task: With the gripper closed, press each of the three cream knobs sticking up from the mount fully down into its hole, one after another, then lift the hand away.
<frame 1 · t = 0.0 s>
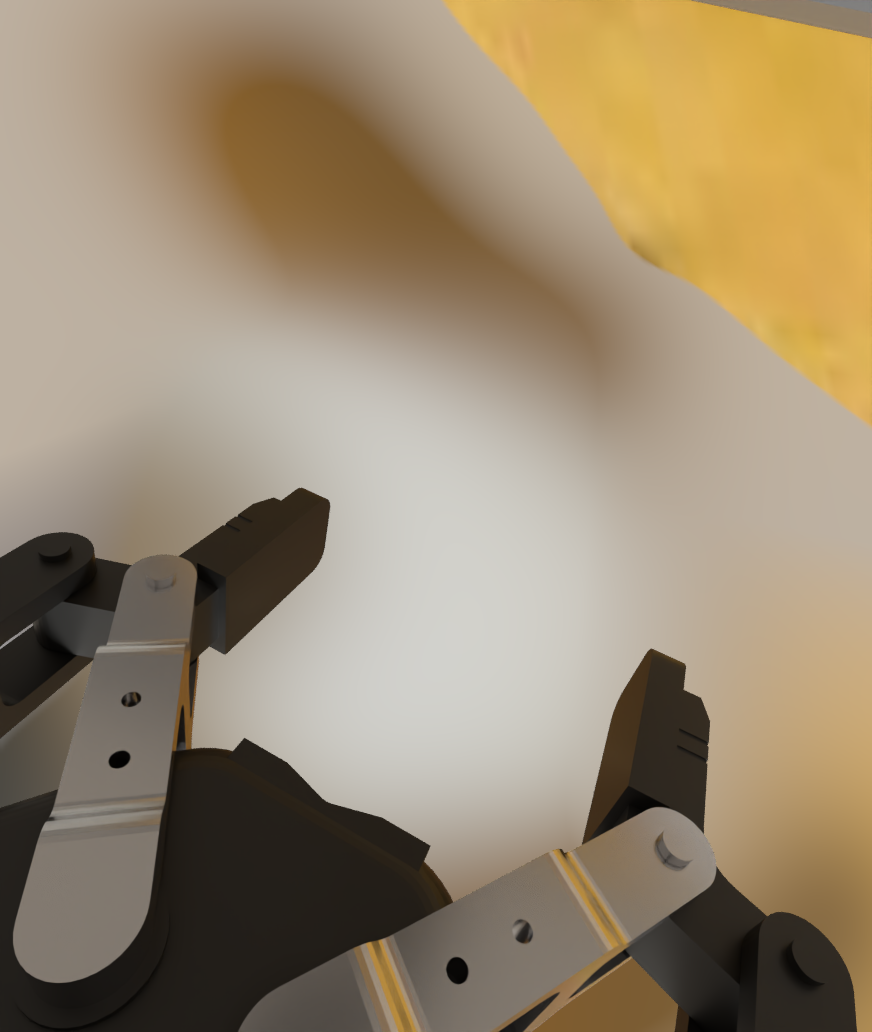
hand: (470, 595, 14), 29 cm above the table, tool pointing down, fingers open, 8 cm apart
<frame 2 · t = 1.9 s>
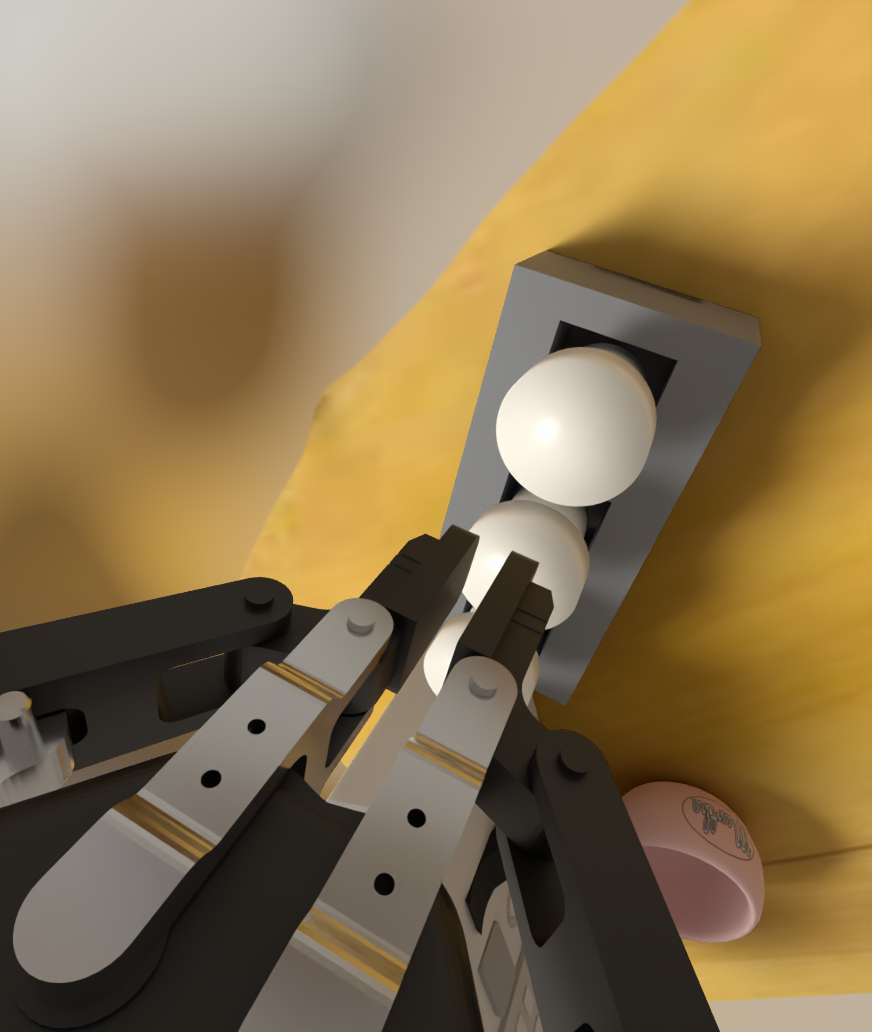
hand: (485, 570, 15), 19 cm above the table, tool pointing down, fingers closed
mug: (668, 804, 43), on the table
mount: (567, 481, 34), on the table
rounded white slab: (522, 766, 47), on the table
knob a: (586, 410, 24), point 7 cm above the table, slide at 2.5 cm
knob b: (533, 543, 28), point 7 cm above the table, slide at 2.5 cm
knob c: (494, 643, 32), point 7 cm above the table, slide at 2.5 cm
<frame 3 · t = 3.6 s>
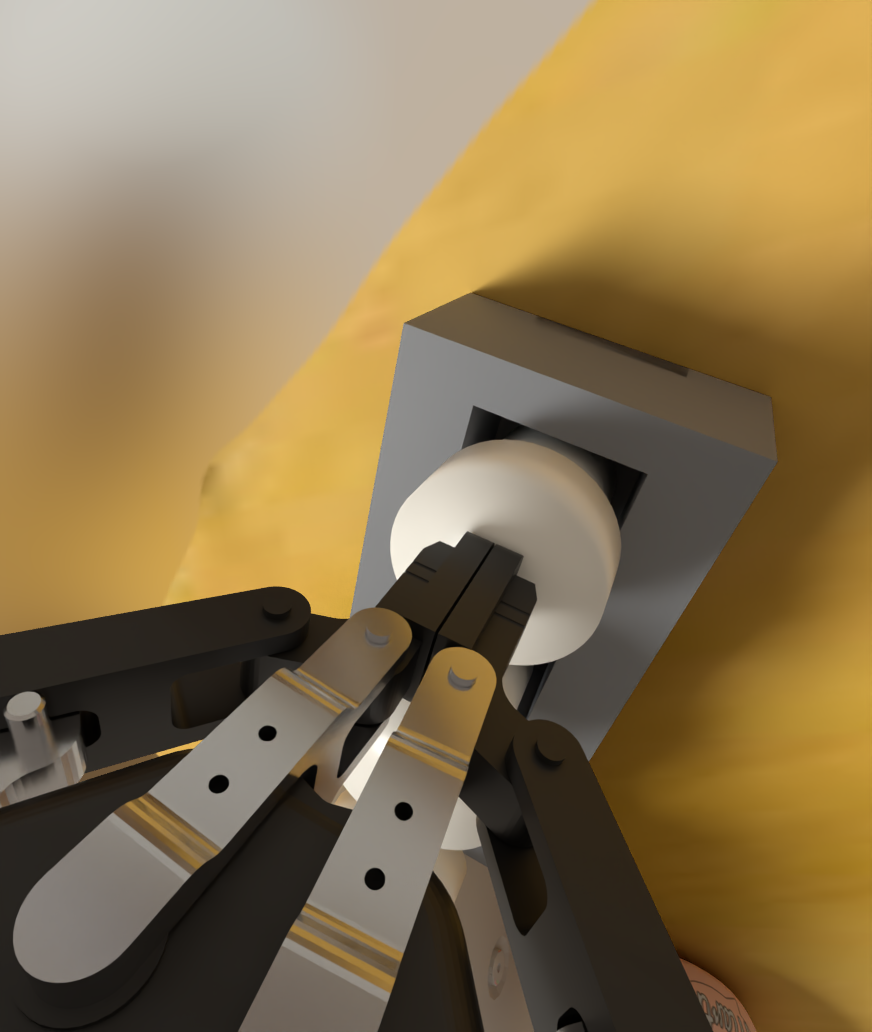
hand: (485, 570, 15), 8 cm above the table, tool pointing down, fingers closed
mug: (653, 968, 34), on the table
mount: (514, 591, 25), on the table
rounded white slab: (476, 902, 39), on the table
knob a: (525, 519, 17), point 5 cm above the table, slide at 0.9 cm, touching gripper
knob b: (449, 709, 20), point 7 cm above the table, slide at 2.5 cm
knob c: (410, 816, 24), point 7 cm above the table, slide at 2.5 cm
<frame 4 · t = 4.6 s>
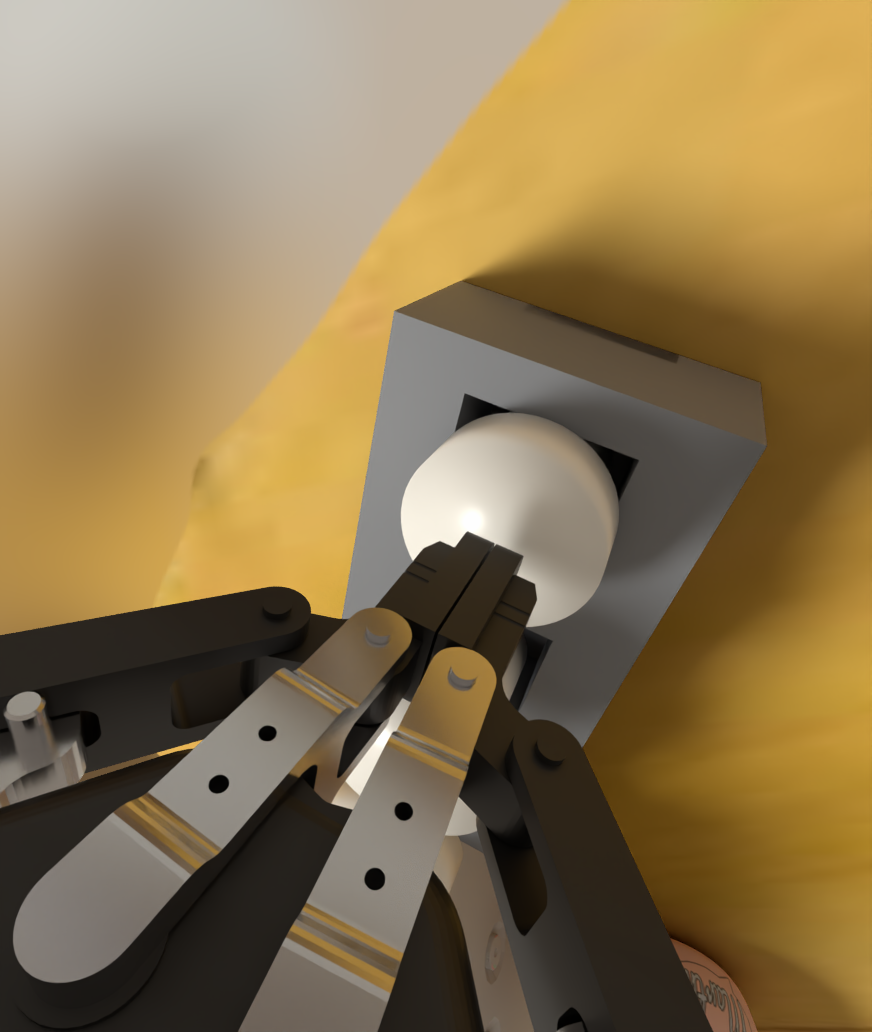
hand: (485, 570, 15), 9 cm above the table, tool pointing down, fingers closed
mug: (647, 950, 35), on the table
mount: (507, 579, 26), on the table
rounded white slab: (473, 889, 39), on the table
knob a: (528, 490, 18), point 4 cm above the table, slide at -0.2 cm
knob b: (444, 696, 20), point 7 cm above the table, slide at 2.5 cm
knob c: (406, 804, 24), point 7 cm above the table, slide at 2.5 cm
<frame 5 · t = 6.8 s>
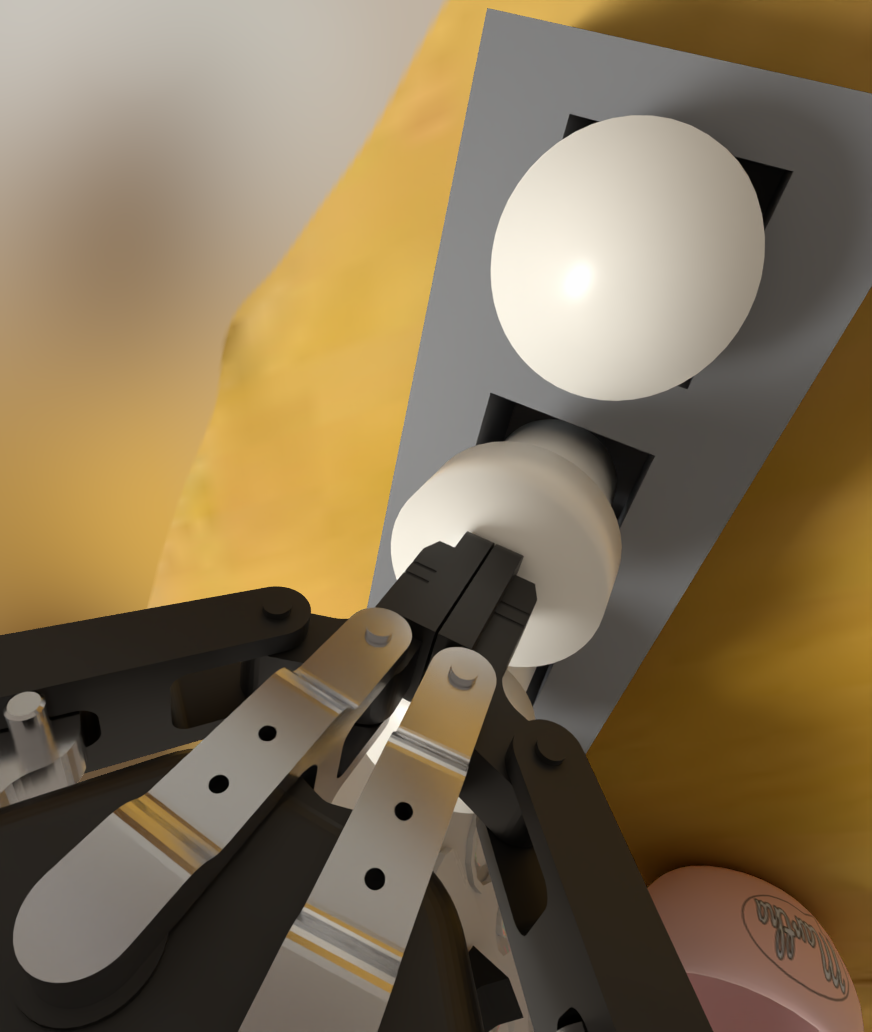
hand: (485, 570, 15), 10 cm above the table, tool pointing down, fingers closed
mug: (714, 893, 31), on the table
mount: (579, 437, 23), on the table
rounded white slab: (515, 831, 36), on the table
knob a: (636, 256, 15), point 4 cm above the table, slide at -0.2 cm
knob b: (526, 520, 17), point 7 cm above the table, slide at 2.2 cm, touching gripper
knob c: (465, 682, 21), point 7 cm above the table, slide at 2.5 cm
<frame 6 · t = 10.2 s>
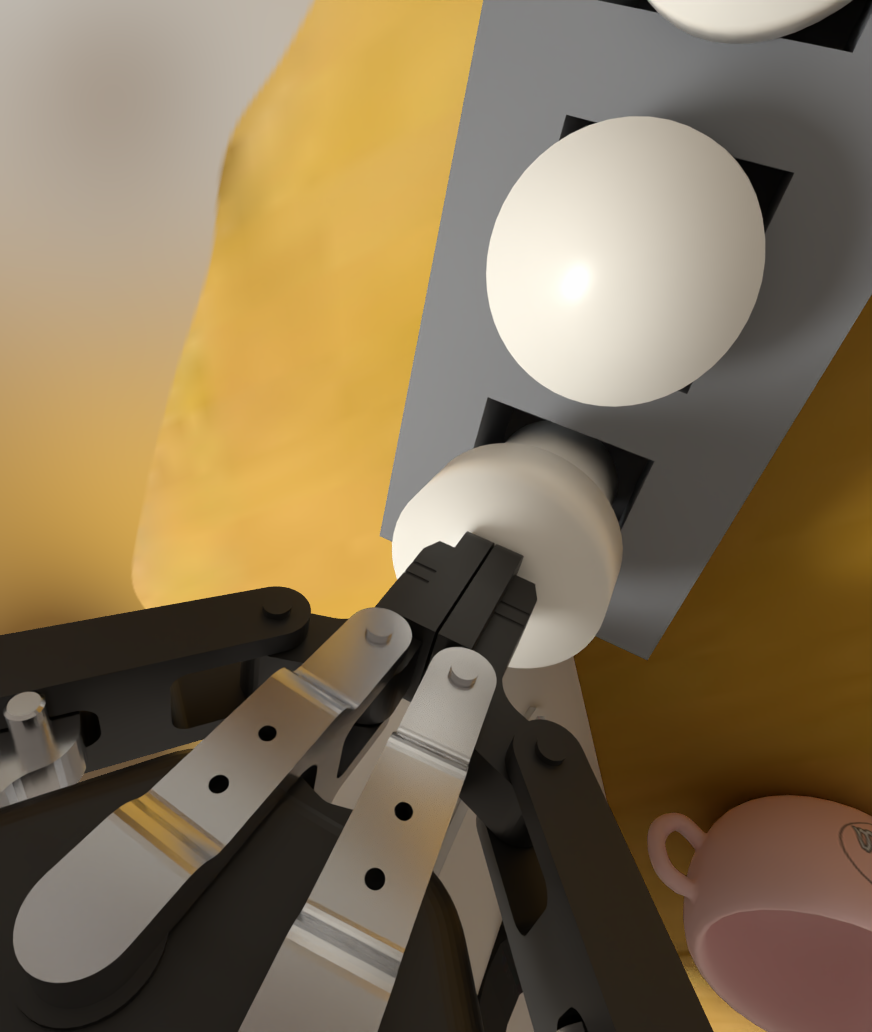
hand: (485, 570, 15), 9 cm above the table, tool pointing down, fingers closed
mug: (789, 831, 27), on the table
mount: (656, 241, 18), on the table
rounded white slab: (553, 770, 32), on the table
knob b: (634, 259, 15), point 4 cm above the table, slide at -0.2 cm
knob c: (527, 521, 17), point 6 cm above the table, slide at 1.9 cm, touching gripper
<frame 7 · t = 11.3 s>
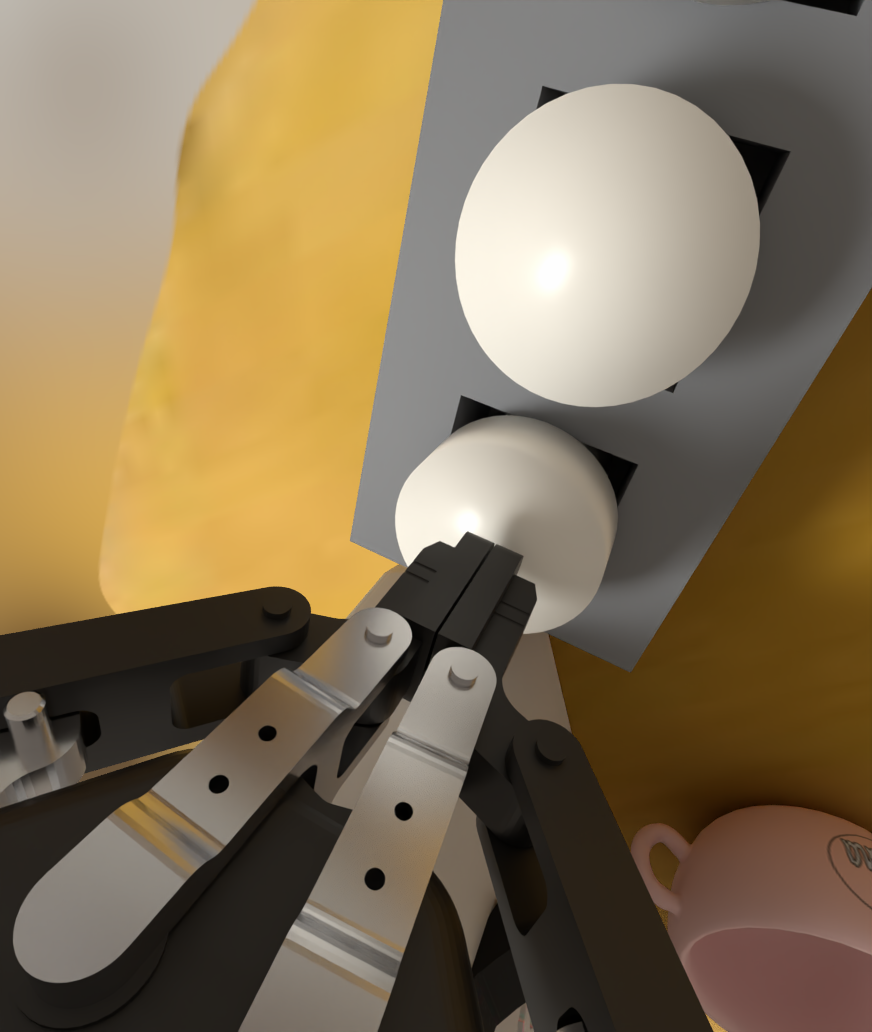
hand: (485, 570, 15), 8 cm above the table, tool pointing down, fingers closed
mug: (775, 840, 26), on the table
mount: (640, 229, 17), on the table
rounded white slab: (535, 777, 31), on the table
knob b: (617, 246, 14), point 4 cm above the table, slide at -0.2 cm
knob c: (525, 494, 18), point 4 cm above the table, slide at -0.2 cm
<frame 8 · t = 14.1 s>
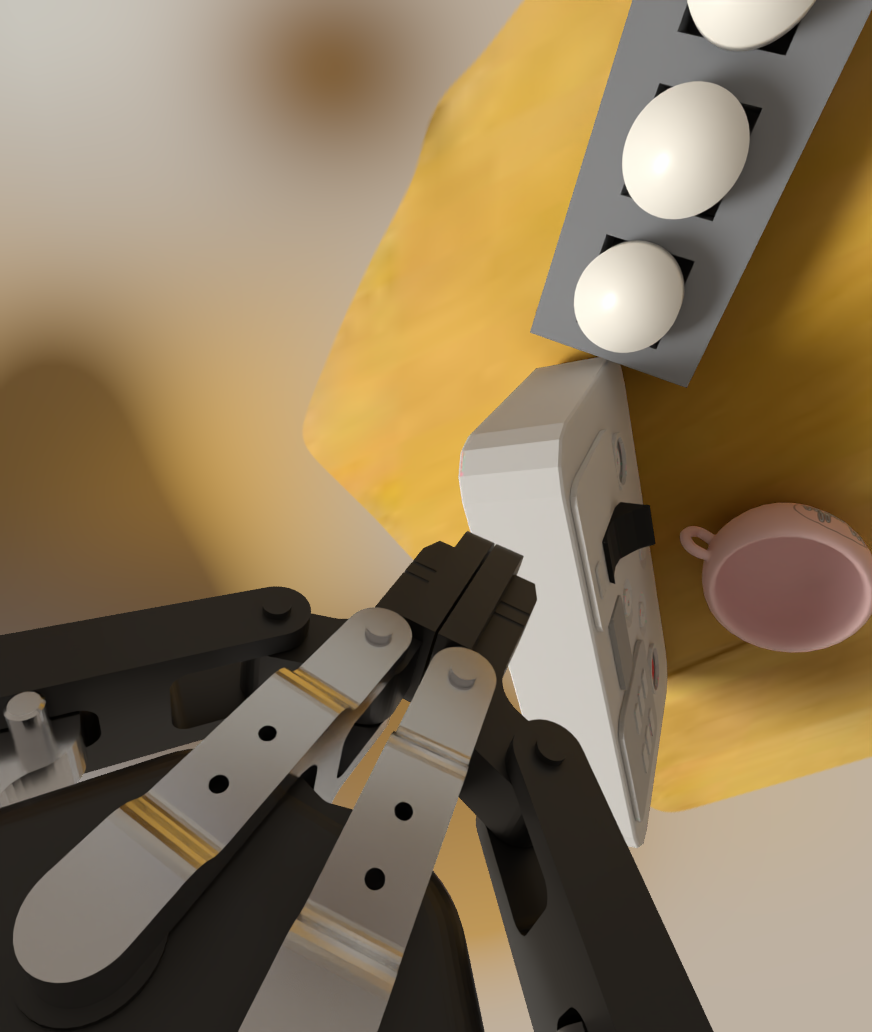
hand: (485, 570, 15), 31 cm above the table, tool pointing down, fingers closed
mug: (766, 541, 43), on the table
mount: (693, 154, 34), on the table
rounded white slab: (612, 529, 48), on the table
knob b: (687, 154, 31), point 4 cm above the table, slide at -0.2 cm
knob c: (633, 291, 35), point 4 cm above the table, slide at -0.2 cm
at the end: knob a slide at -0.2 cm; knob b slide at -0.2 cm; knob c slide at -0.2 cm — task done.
